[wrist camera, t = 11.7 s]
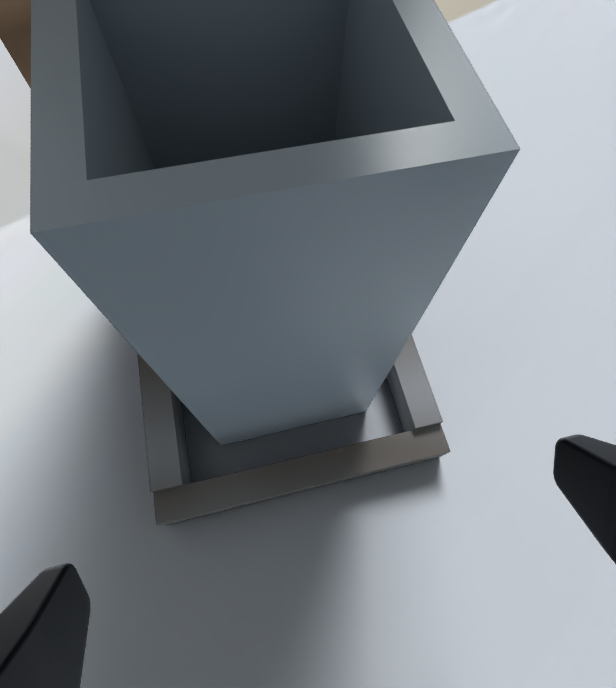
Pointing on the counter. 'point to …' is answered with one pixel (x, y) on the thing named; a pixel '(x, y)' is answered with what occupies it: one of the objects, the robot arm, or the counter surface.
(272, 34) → the sleeve
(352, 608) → the counter surface
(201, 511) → the wooden c-shaped stand
